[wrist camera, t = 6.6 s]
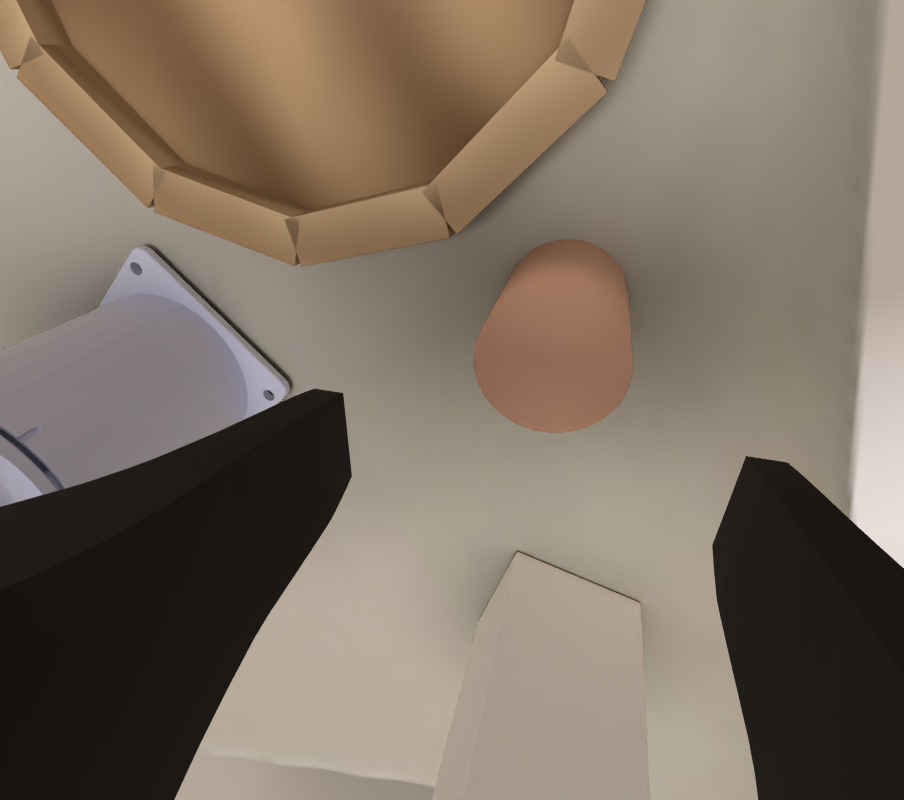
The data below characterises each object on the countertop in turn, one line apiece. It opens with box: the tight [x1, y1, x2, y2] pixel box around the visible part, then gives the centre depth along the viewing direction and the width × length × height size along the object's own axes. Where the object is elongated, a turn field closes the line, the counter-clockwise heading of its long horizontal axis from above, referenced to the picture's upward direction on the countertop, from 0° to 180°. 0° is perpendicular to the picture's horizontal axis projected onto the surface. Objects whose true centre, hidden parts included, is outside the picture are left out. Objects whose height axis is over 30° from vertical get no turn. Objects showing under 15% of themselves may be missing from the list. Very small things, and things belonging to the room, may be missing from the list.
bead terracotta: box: [474, 240, 633, 433], centre depth 16 cm, size 4×4×5 cm
